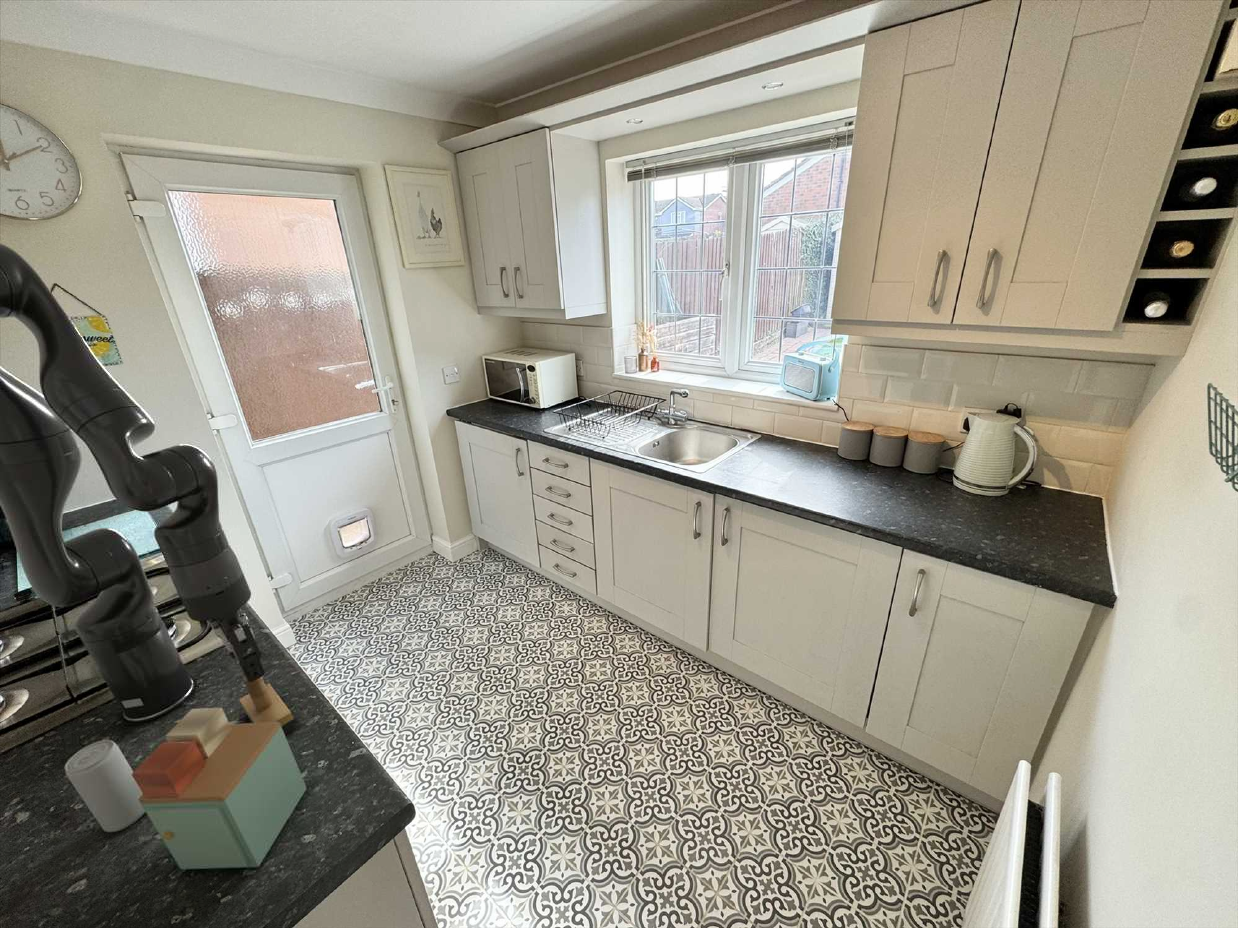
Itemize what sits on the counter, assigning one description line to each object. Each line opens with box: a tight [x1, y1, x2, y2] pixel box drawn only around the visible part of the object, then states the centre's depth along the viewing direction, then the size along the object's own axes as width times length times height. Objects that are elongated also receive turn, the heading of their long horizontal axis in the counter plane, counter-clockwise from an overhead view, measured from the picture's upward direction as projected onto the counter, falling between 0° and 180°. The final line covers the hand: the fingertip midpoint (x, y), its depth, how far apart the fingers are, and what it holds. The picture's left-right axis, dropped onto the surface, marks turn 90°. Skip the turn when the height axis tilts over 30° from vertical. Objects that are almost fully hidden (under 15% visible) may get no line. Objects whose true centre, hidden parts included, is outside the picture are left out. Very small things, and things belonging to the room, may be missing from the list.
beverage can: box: [64, 739, 146, 833], centre depth 65 cm, size 5×5×12 cm
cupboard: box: [138, 722, 308, 870], centre depth 62 cm, size 11×10×13 cm
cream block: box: [165, 707, 232, 758], centre depth 61 cm, size 4×4×4 cm
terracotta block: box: [132, 742, 206, 798], centre depth 57 cm, size 4×4×4 cm
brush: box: [238, 675, 296, 736], centre depth 79 cm, size 4×10×10 cm, turn 51°
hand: (248, 665), depth 76 cm, fingers open, 8 cm apart
